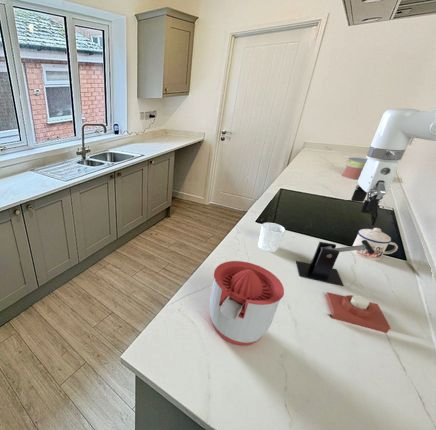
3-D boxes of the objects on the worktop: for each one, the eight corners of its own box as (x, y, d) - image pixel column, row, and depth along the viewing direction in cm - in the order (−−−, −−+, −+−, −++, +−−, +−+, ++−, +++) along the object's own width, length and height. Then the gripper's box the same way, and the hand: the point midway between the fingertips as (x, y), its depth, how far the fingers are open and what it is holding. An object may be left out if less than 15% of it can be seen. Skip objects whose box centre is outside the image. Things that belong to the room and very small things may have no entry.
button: (364, 302, 74) (366, 297, 74) (368, 311, 72) (371, 306, 71) (348, 298, 76) (350, 294, 75) (352, 307, 73) (354, 302, 72)
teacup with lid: (352, 258, 99) (365, 231, 93) (346, 246, 106) (358, 220, 100) (394, 267, 93) (411, 239, 88) (386, 253, 101) (400, 227, 95)
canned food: (344, 173, 187) (351, 156, 182) (365, 176, 180) (372, 159, 174) (340, 176, 181) (346, 159, 176) (361, 180, 173) (368, 162, 168)
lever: (368, 244, 83) (366, 238, 82) (375, 254, 78) (374, 248, 77) (320, 250, 89) (319, 244, 89) (324, 259, 85) (323, 253, 84)
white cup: (266, 256, 101) (273, 233, 96) (251, 245, 108) (257, 224, 103) (283, 252, 103) (290, 230, 98) (267, 242, 110) (273, 221, 105)
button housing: (374, 309, 77) (380, 299, 75) (386, 333, 69) (393, 322, 68) (324, 297, 81) (329, 287, 79) (331, 318, 74) (336, 308, 72)
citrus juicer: (190, 331, 71) (200, 273, 62) (220, 298, 82) (232, 244, 73) (250, 371, 61) (272, 309, 52) (275, 327, 72) (296, 269, 63)
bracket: (335, 272, 92) (348, 243, 86) (342, 288, 85) (356, 258, 79) (295, 263, 96) (305, 236, 91) (298, 278, 89) (309, 249, 84)
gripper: (416, 162, 68) (387, 220, 76) (389, 148, 82) (367, 198, 90) (379, 159, 71) (355, 215, 79) (359, 147, 85) (340, 195, 93)
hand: (361, 206), depth 84 cm, fingers open, 9 cm apart
